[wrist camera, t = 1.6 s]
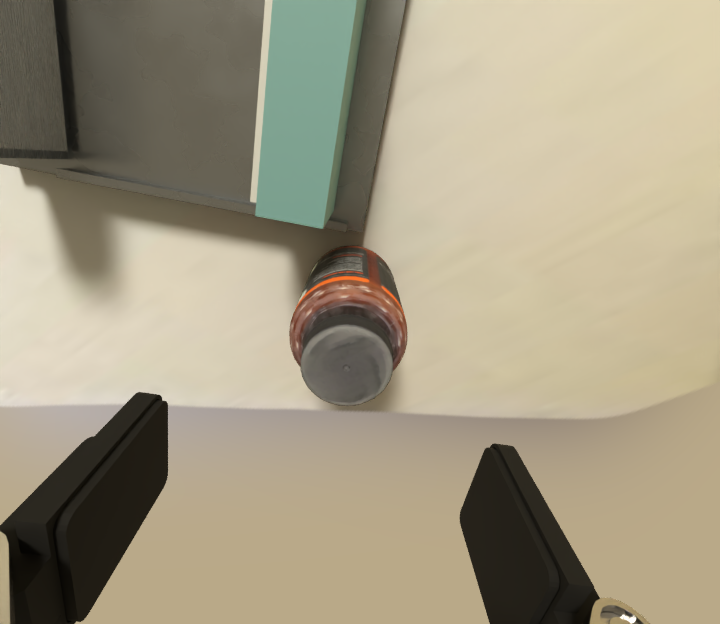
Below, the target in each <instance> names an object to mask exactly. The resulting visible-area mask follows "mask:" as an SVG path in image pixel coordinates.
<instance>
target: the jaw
mask: <svg viewBox="0 0 720 624" xmlns="http://www.w3.org/2000/svg"><path fill="white" fill-rule="evenodd" d="M366 1H367V0H265V8H264V21H263V35H262V48H261V62H260V75H259V88H258V102H257V115H256V129H255V142H254V155H253V169H252V182H251V196H250V202H255V203H256V212H255V216H257V217H263V218H268V219H273V220H278V221H284V222H289V223H294V224H300V225H305V226H310V227H315V228H321V229H323V228H324V226H325V225H326V223H327V221H328V220H329V218H330V216H331V215H332V213H333V211H334V206H335V199H336V193H337V186H338V180H339V174H340V167H341V161H342V155H343V148H344V142H345V135H346V129H347V123H348V116H349V110H350V104H351V97H352V91H353V84H354V78H355V72H356V65H357V59H358V52H359V46H360V40H361V33H362V27H363V21H364V14H365V8H366Z"/></svg>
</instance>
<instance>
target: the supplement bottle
mask: <svg viewBox="0 0 720 624" xmlns="http://www.w3.org/2000/svg"><path fill="white" fill-rule="evenodd" d="M290 345H291V350H292V352H293V356H294V358H295V360H296V361H297V363H298V365H299V366H300V367H301V373H302V377H303V379H304V381H305V383H306V385H307V387H308V388H309V389H310V390H311V391H312V392H313V393H314V394H315V395H316V396H318V397H319V398H320V399H322V400H324V401H326V402H329V403H332V404H336V405H341V406H355V405H359V404H362V403H365V402H367V401H369V400H371V399H374V398H375V397H376V396H377V395H379V394H380V393H381V392H382V391H383V390H384V389H385V387H386V386H387V385H388V383H389V381H390V378H391V375H392V372H393V371H394V370H395V368H396V367H397V366H398V364H399V363H400V361H401V359H402V358H403V355H404V353H405V349H406V345H407V325H406V320H405V316H404V312H403V309H402V305H401V302H400V298H399V295H398V292H397V288H396V285H395V282H394V278H393V276H392V273H391V271H390V269H389V267H388V266H387V264H386V263H385V261H384V260H383V259H382V258H381V257H379V256H378V255H377V254H376V253H374V252H372V251H370V250H368V249H366V248H363V247H359V246H344V247H339V248H336V249H334V250H331V251H329V252H328V253H326V254H325V255H324V256H323V257H322V258H321V259H320V260H319V261H318V262H317V263H316V265H315V266H314V268H313V269H312V271H311V274H310V276H309V278H308V281H307V283H306V285H305V288H304V290H303V293H302V295H301V297H300V299H299V302H298V304H297V307H296V309H295V312H294V314H293V317H292V320H291V324H290Z"/></svg>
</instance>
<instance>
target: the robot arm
mask: <svg viewBox="0 0 720 624" xmlns="http://www.w3.org/2000/svg"><path fill="white" fill-rule="evenodd" d="M167 476H168V404H167V402H166V401H162V397H161V396H160V395H156V394H149V393H142V392H138V393H136V394H135V395H134V396H133V397H132V398H131V399H130V400H129V401H128V402H127V403H126V404H125V405H124V406H123V407H122V409H121V410H120V411H119V412H118V413H117V414H116V415H115V416H114V417H113V418H112V419H111V420H110V421H109V422H108V423H107V424H106V425H105V426H104V427H103V428H102V429H101V430H100V431H99V432H98V433H97V434H96V436H94V437H90V438H88V439H86V440H85V441H84V442H82V443H81V444H80V445H79V447H77V448H76V449H75V450H74V451H73V453H72V454H71V455H69V456H68V458H67V459H66V460H65V461H64V462H63V463H62V464H61V465H60V466H59V467H58V468H57V469H56V470H55V471H54V472H53V473H52V474H51V475H50V476H49V477H48V478H47V479H46V480H45V481H44V482H43V483H42V484H41V485H40V486H39V487H38V488H37V489H36V490H35V491H34V492H33V493H32V494H31V495H30V496H29V497H28V498H27V499H26V500H25V501H24V502H23V503H22V504H21V505H20V506H19V507H18V508H17V509H16V510H15V511H14V512H13V513H12V514H11V515H10V516H9V517H8V518H7V519H6V520H5V521H4V522H3V524H1V525H0V624H74V623H75V622H76V621H78V622H81V621H83V620H84V618H86V616H87V615H88V613H89V612H90V610H91V609H92V607H93V605H94V604H95V602H96V600H97V598H98V597H99V595H100V593H101V592H102V590H103V588H104V587H105V585H106V583H107V581H108V580H109V578H110V576H111V575H112V573H113V571H114V570H115V568H116V566H117V565H118V563H119V562H120V560H121V558H122V557H123V555H124V553H125V551H126V550H127V548H128V546H129V545H130V543H131V541H132V540H133V538H134V536H135V535H136V533H137V531H138V530H139V528H140V526H141V525H142V522H143V521H144V519H145V518H146V516H147V514H148V513H149V511H150V509H151V508H152V506H153V504H154V503H155V501H156V499H157V498H158V496H159V494H160V493H161V491H162V489H163V488H164V485H165V483H166V480H167ZM460 524H461V528H462V531H463V535H464V538H465V542H466V545H467V548H468V552H469V555H470V558H471V562H472V565H473V568H474V572H475V575H476V579H477V582H478V585H479V589H480V592H481V595H482V599H483V602H484V605H485V609H486V612H487V616H488V619H489V622H490V624H650V623H649V622H648V621H647V620H646V619H645V618H644V617H643V616H641V615H640V614H639V613H638V612H637V611H635V610H634V609H633V608H632V607H630V606H628V605H626V604H625V603H623V602H621V601H618V600H615V599H612V598H601V599H600V598H599V596H598V594H597V592H596V591H595V589H594V586H593V584H592V582H591V581H590V579H589V577H588V575H587V573H586V572H585V570H584V568H583V567H582V565H581V563H580V561H579V559H578V558H577V556H576V554H575V552H574V551H573V549H572V547H571V545H570V544H569V542H568V540H567V538H566V537H565V535H564V533H563V531H562V530H561V528H560V526H559V524H558V523H557V521H556V519H555V517H554V516H553V514H552V512H551V511H550V509H549V507H548V505H547V503H546V502H545V500H544V498H543V496H542V495H541V493H540V491H539V489H538V488H537V486H536V484H535V482H534V481H533V479H532V477H531V476H530V474H529V472H528V470H527V468H526V467H525V465H524V463H523V461H522V460H521V458H520V456H519V454H518V453H517V451H516V449H515V448H514V447H513V446H508V445H501V444H492V445H491V447H490V448H486V449H485V450H484V453H483V455H482V458H481V460H480V463H479V466H478V468H477V470H476V473H475V476H474V478H473V481H472V483H471V486H470V489H469V491H468V494H467V496H466V499H465V501H464V504H463V507H462V509H461V512H460Z"/></svg>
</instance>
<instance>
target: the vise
mask: <svg viewBox="0 0 720 624" xmlns="http://www.w3.org/2000/svg"><path fill="white" fill-rule="evenodd" d="M405 4H406V0H367V1H366V8H365V14H364V21H363V27H362V33H361V40H360V46H359V52H358V59H357V65H356V72H355V78H354V84H353V91H352V97H351V104H350V110H349V116H348V123H347V129H346V135H345V142H344V148H343V155H342V161H341V167H340V174H339V180H338V186H337V193H336V199H335V206H334V211H333V213H332V215H331V216H330V218H329V220H328V221H327V223H326V225H325V226H324V228H326V229H331V230H337V231H342V232H346V231H347V230H351V231H357V232H363V226H364V221H365V216H366V211H367V205H368V200H369V195H370V189H371V184H372V179H373V173H374V168H375V163H376V157H377V152H378V147H379V142H380V136H381V131H382V126H383V120H384V115H385V110H386V104H387V99H388V94H389V89H390V83H391V78H392V73H393V67H394V62H395V57H396V51H397V46H398V41H399V36H400V30H401V25H402V20H403V14H404V9H405ZM264 8H265V0H0V164H4V165H9V166H15V167H20V168H25V169H30V170H36V171H41V172H46V173H51V174H56V175H57V178H62V179H68V180H73V181H78V182H83V183H89V184H94V185H99V186H105V187H110V188H115V189H120V190H126V191H131V192H136V193H141V194H147V195H152V196H157V197H163V198H168V199H173V200H178V201H184V202H189V203H194V204H200V205H205V206H210V207H215V208H221V209H226V210H231V211H236V212H242V213H247V214H252V215H255V212H256V203H255V202H250V196H251V182H252V169H253V155H254V142H255V129H256V115H257V102H258V88H259V75H260V62H261V48H262V35H263V21H264Z"/></svg>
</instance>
